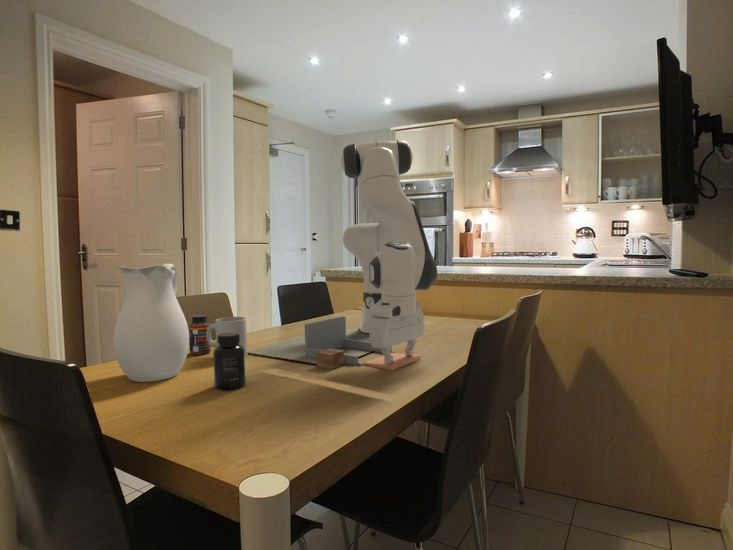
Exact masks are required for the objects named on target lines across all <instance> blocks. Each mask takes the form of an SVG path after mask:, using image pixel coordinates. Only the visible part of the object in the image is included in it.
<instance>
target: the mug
mask: <svg viewBox="0 0 733 550" xmlns="http://www.w3.org/2000/svg"><path fill="white" fill-rule="evenodd" d="M214 322H215V323H211V324H210V325H209V326H208V329H207V341H208V344H209V345H210V346H211V347H212V348H216V347H217V346H219V344H218V343H217V341H218V335H219V334H222V333H239V334H240V342H239V344H240V345H242V346H243V347H244V349H245V358H247V356H248V344H247V343H248V342H247V341H248V340H247V318H246V317H243V316H228V317H227V316H225V317H218V318H216V319H215V321H214ZM212 330H215V341H213V339H212Z"/></svg>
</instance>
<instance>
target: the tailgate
mask: <svg viewBox="0 0 733 550" xmlns="http://www.w3.org/2000/svg"><path fill="white" fill-rule="evenodd" d="M391 356H393V363H391V364H385V362H384V356H383V355H381V356H379V357H376V358H373V359H370V360H367V361H364V362H362V364H363V366H368V367H373V368H378V369H384V370H390V371H393V370H396V369H399V368H401V367H404V366H407V365H409V364H411V363H414V362H417V361H419V360H421V355H420V354H413V355H412V356H406V355H405V353H400V352H399V353H398V352H396V353H391Z"/></svg>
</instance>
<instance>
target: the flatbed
mask: <svg viewBox="0 0 733 550" xmlns="http://www.w3.org/2000/svg"><path fill="white" fill-rule="evenodd" d="M346 320H347V319H346V316H343V315H342V316H338V317H333V318H328V319H324V320H323V319H322V320H319V321H313V322H309V323H304V349H305V351H304V352H305V353H304V355H305V357H310V358H315V359H316V352H318V351H322V350H325V349H329V348H330V349H336V350H338V349H340V348H342V347H345V348H350V349H351V348H352V349H358V350H363V351H371V352H376V353H382V351H381V349H379V348H374V347H372V345H371V344H370V341H365V340H360V339H358V340H357V339H353V338H352V339H351V338H347V332H346V331H347V327H346V325H347V323H346V322H347V321H346ZM392 349H393V346H391V350H390V353H397V352H396V351H393V350H392ZM344 364H347V365H350V366H358V367H362V366H364V365H363V362H359V355H354V354H350V353H349V354H348V353H344Z"/></svg>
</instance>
